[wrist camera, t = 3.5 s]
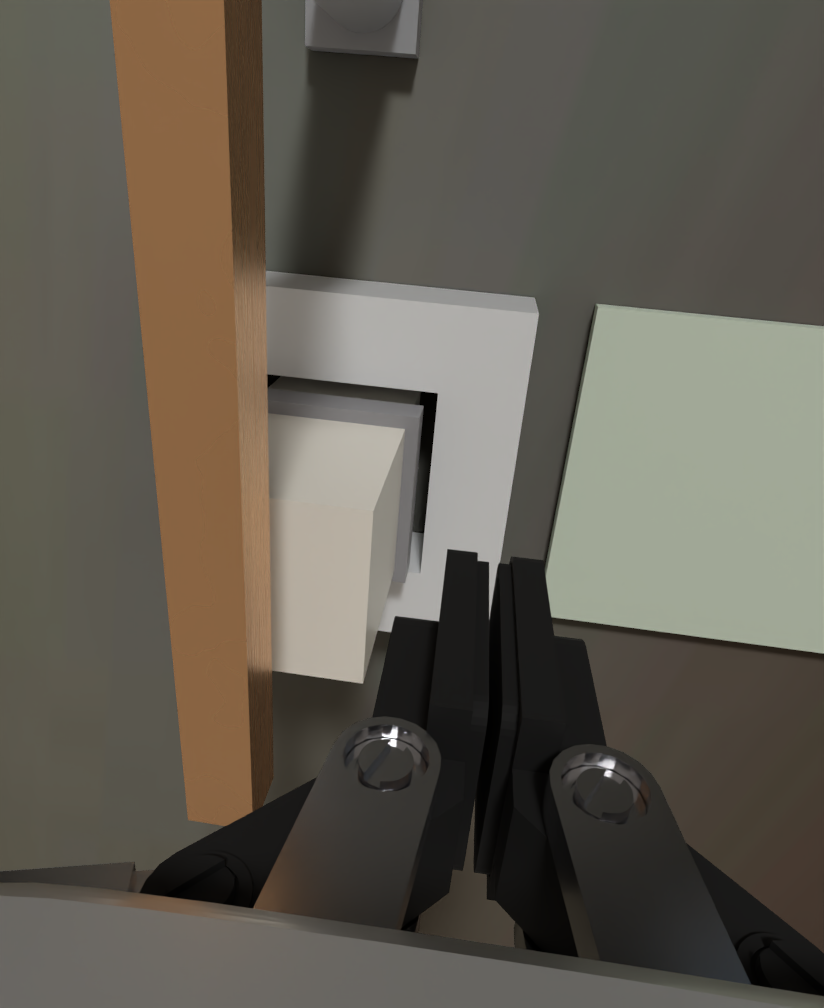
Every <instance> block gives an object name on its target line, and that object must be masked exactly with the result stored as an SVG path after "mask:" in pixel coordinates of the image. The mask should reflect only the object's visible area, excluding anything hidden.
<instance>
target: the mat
mask: <svg viewBox="0 0 824 1008" xmlns="http://www.w3.org/2000/svg"><path fill="white" fill-rule="evenodd" d="M545 576H546V583H547V590H548V597H549V604H550V611H551V617H555V618H562V619H570V620H577V621H585V622H592V623H599V624H607V625H614V626H622V627H629V628H637V629H644V630H652V631H659V632H667V633H674V634H682V635H689V636H696V637H704V638H711V639H719V640H726V641H734V642H741V643H749V644H756V645H764V646H771V647H779V648H786V649H794V650H801V651H808V652H816V653H823V654H824V326H814V325H804V324H794V323H784V322H774V321H764V320H754V319H744V318H734V317H724V316H714V315H704V314H694V313H684V312H674V311H664V310H654V309H644V308H634V307H624V306H614V305H604V304H596V305H595V310H594V315H593V321H592V326H591V331H590V336H589V341H588V347H587V352H586V357H585V362H584V368H583V373H582V378H581V383H580V388H579V394H578V399H577V404H576V409H575V414H574V420H573V425H572V430H571V435H570V440H569V446H568V451H567V456H566V461H565V467H564V472H563V477H562V482H561V487H560V493H559V498H558V503H557V508H556V513H555V519H554V524H553V529H552V534H551V539H550V545H549V550H548V555H547V560H546V566H545Z"/></svg>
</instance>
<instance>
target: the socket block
mask: <svg viewBox="0 0 824 1008" xmlns="http://www.w3.org/2000/svg"><path fill="white" fill-rule="evenodd" d="M422 4H423V0H305V46H306V47H307V48H309V49H310V50H312V51H323V52H336V53H350V54H363V55H376V56H389V57H403V58H416V59H419V47H420V33H421V19H422ZM538 317H539V312H538V308H537V305H536V301H535V298H533V297H523V296H513V295H503V294H493V293H483V292H473V291H463V290H453V289H443V288H433V287H423V286H413V285H403V284H393V283H383V282H373V281H363V280H353V279H343V278H333V277H323V276H313V275H303V274H293V273H283V272H273V271H266V325H267V374H269V375H278V376H287V377H296V378H305V379H314V380H323V381H332V382H341V383H350V384H359V385H368V386H377V387H386V388H395V389H404V390H413V391H422V392H431V393H438V399H437V409H436V419H435V429H434V439H433V449H432V460H431V470H430V480H429V490H428V500H427V511H426V521H425V531H424V533H417V532H412V542H411V553H410V564H409V569H408V573H407V577H406V581H405V583H401V582H394V581H391V584H390V588H389V591H388V595H387V598H386V602H385V606H384V609H383V613H382V616H381V620H380V624H379V627H378V631H386V632H391V631H392V626H393V622H394V618H395V616H400V617H408V618H416V619H424V620H432V621H439V617H440V608H441V599H442V591H443V582H444V574H445V565H446V557H447V549H452V550H461V551H469V552H477V553H478V561H484V562H489V618H490V611H491V605H492V599H493V592H494V586H495V579H496V573H497V567H498V564H499V563H500V558H501V552H502V546H503V539H504V533H505V527H506V520H507V514H508V508H509V501H510V495H511V488H512V482H513V476H514V469H515V463H516V457H517V450H518V444H519V438H520V431H521V425H522V418H523V412H524V406H525V399H526V393H527V387H528V380H529V374H530V368H531V361H532V355H533V349H534V342H535V336H536V329H537V323H538Z"/></svg>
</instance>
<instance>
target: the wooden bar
mask: <svg viewBox="0 0 824 1008" xmlns="http://www.w3.org/2000/svg"><path fill="white" fill-rule="evenodd" d="M110 7H111V18H112V28H113V39H114V49H115V60H116V70H117V81H118V91H119V102H120V112H121V122H122V133H123V143H124V154H125V164H126V175H127V185H128V196H129V206H130V217H131V227H132V238H133V248H134V258H135V269H136V279H137V290H138V300H139V311H140V321H141V332H142V342H143V353H144V363H145V374H146V384H147V394H148V405H149V415H150V426H151V436H152V447H153V457H154V468H155V478H156V489H157V499H158V510H159V520H160V530H161V541H162V551H163V562H164V572H165V583H166V593H167V604H168V614H169V625H170V635H171V645H172V656H173V666H174V677H175V687H176V698H177V708H178V719H179V729H180V740H181V750H182V761H183V771H184V781H185V792H186V802H187V813H188V820H192V821H198V822H204V823H210V824H216V825H222V826H227V825H229V824H231V823H233V822H234V821H236V820H238V819H240V818H242V817H244V816H246V815H247V814H249V813H251V812H253V811H255V810H257V809H259V808H261V807H262V806H263V804H264V801H265V798H266V796H267V793H268V790H269V788H270V785H271V783H272V780H273V713H272V648H271V584H270V519H269V454H268V390H267V325H266V260H265V196H264V131H263V66H262V2H261V0H110Z"/></svg>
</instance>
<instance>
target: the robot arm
mask: <svg viewBox="0 0 824 1008" xmlns="http://www.w3.org/2000/svg"><path fill="white" fill-rule="evenodd" d="M474 801H475V828H474V872H475V873H482V874H487V899H488V900H495V901H497V902H498V903H499V904H500V906H501V907H502V908H503V909H504V910H505V911H506V912H507V913H508V914H509V915H510V916H511V918H512V919H513V920H514V921H515V924H514V945H515V948H513V947H506V946H500V945H493V944H487V943H480V942H473V941H467V940H460V939H454V938H447V937H441V936H434V935H428V934H421V933H418V931H419V926H420V918H421V913H422V912H424V911H425V910H426V909H428V908H429V907H430V906H432V905H433V904H434V903H436V902H437V901H438V900H440V899H441V898H442V897H444V896H445V895H446V894H448V893H449V889H450V882H451V876H452V869H454V870H461V871H462V870H463V866H464V860H465V855H466V849H467V843H468V837H469V831H470V825H471V819H472V813H473V807H474ZM0 1008H824V954H823V953H822V952H821V951H820V950H819V949H818V948H817V947H816V946H815V945H813V944H812V943H811V942H810V941H808V940H807V939H806V938H805V937H803V936H802V935H801V934H799V933H798V932H797V931H796V930H794V929H793V928H792V927H791V926H789V925H788V924H787V923H786V922H784V921H783V920H782V919H781V918H779V917H778V916H777V915H776V914H774V913H773V912H772V911H771V910H769V909H768V908H767V907H766V906H764V905H763V904H762V903H761V902H759V901H758V900H757V899H756V898H754V897H753V896H752V895H751V894H749V893H748V892H747V891H746V890H744V889H743V888H742V887H741V886H739V885H738V884H737V883H736V882H734V881H733V880H732V879H731V878H729V877H728V876H727V875H726V874H724V873H723V872H722V871H721V870H719V869H718V868H717V867H716V866H714V865H713V864H712V863H710V862H709V861H708V860H707V859H705V858H704V857H703V856H702V855H700V854H699V853H698V852H697V851H695V850H694V849H693V848H692V847H690V846H689V845H688V844H687V843H686V842H685V840H684V838H683V835H682V833H681V831H680V829H679V827H678V825H677V822H676V820H675V818H674V816H673V814H672V812H671V809H670V807H669V805H668V803H667V801H666V799H665V796H664V794H663V792H662V790H661V788H660V786H659V785H658V783H657V781H656V780H655V778H654V777H653V775H652V774H651V773H650V772H649V771H648V770H647V769H646V768H645V767H644V766H643V765H642V764H641V763H640V762H638V761H637V760H635V759H633V758H632V757H630V756H628V755H627V754H625V753H624V752H621V751H618V750H615V749H613V748H610V747H607V746H606V741H605V736H604V731H603V726H602V721H601V717H600V712H599V707H598V702H597V697H596V693H595V688H594V683H593V678H592V673H591V669H590V664H589V659H588V654H587V649H586V646H585V642H584V641H583V640H582V639H575V638H567V637H559V636H554V632H553V625H552V618H551V611H550V604H549V597H548V590H547V583H546V576H545V569H544V562H543V560H536V559H528V558H519V557H511V559H510V563H509V564H501V563H499V564H498V567H497V573H496V579H495V586H494V592H493V599H492V605H491V611H490V618H489V562H484V561H478V553H477V552H469V551H461V550H452V549H447V557H446V565H445V574H444V582H443V591H442V599H441V608H440V617H439V621H432V620H424V619H416V618H408V617H400V616H395V618H394V622H393V626H392V631H391V635H390V640H389V644H388V649H387V653H386V658H385V663H384V667H383V672H382V676H381V681H380V685H379V690H378V695H377V699H376V704H375V708H374V713H373V717H372V718H367V719H365V720H362V721H359V722H356V723H354V724H352V725H351V726H350V727H348V728H347V729H345V730H344V731H342V733H341V734H340V736H339V737H338V738H337V740H336V741H335V742H334V744H333V746H332V748H331V750H330V752H329V754H328V756H327V758H326V760H325V762H324V765H323V767H322V769H321V771H320V773H319V775H318V777H317V778H315V779H313V780H311V781H309V782H307V783H306V784H304V785H302V786H300V787H298V788H296V789H294V790H292V791H291V792H289V793H287V794H285V795H283V796H281V797H279V798H277V799H276V800H274V801H272V802H270V803H268V804H266V805H264V806H262V807H261V808H259V809H257V810H255V811H253V812H251V813H249V814H247V815H246V816H244V817H242V818H240V819H238V820H236V821H234V822H233V823H231V824H229V825H227V826H225V827H223V828H221V829H219V830H218V831H216V832H214V833H212V834H210V835H208V836H206V837H204V838H203V839H201V840H199V841H197V842H195V843H193V844H191V845H189V846H188V847H186V848H184V849H182V850H180V851H178V852H177V853H175V854H174V855H172V856H171V857H169V858H168V859H166V860H165V861H164V862H162V863H161V864H159V866H158V867H157V868H156V869H155V870H142V871H136V869H135V862H124V863H110V864H96V865H82V866H68V867H54V868H40V869H25V870H11V871H0Z"/></svg>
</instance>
